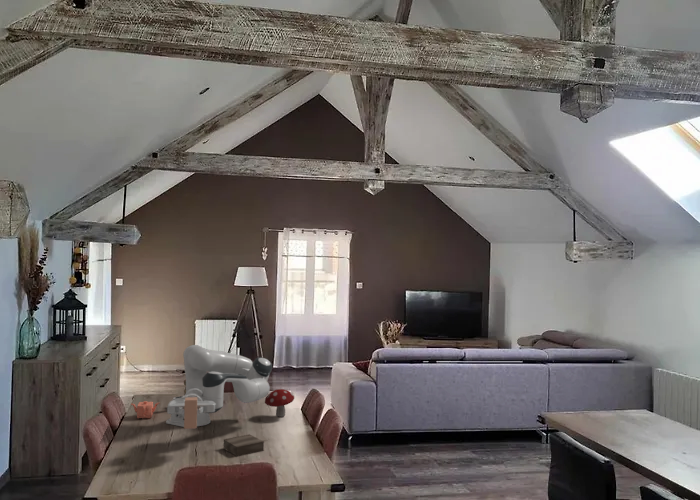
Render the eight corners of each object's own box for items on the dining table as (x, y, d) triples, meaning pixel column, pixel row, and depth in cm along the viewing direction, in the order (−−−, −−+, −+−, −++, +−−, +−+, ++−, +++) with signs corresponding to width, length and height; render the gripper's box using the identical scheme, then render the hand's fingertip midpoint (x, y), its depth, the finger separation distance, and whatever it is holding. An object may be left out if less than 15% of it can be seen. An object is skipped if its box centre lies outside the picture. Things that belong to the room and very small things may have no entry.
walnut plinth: (223, 448, 268) (223, 439, 268) (249, 443, 276) (249, 434, 276) (236, 456, 257) (237, 447, 257) (263, 450, 265) (263, 441, 265)
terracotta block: (184, 425, 258) (185, 397, 258) (196, 424, 259) (197, 397, 259) (184, 428, 253) (184, 400, 253) (196, 428, 254) (196, 400, 254)
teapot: (158, 419, 312) (159, 403, 312) (128, 421, 309) (128, 404, 309) (160, 413, 324) (161, 398, 324) (131, 414, 320) (131, 399, 320)
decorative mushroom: (296, 420, 315) (297, 391, 315) (266, 422, 310) (267, 393, 310) (291, 412, 330) (291, 384, 330) (262, 414, 325) (262, 386, 326)
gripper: (216, 410, 271) (215, 418, 257) (169, 411, 267) (166, 420, 253) (216, 396, 271) (215, 403, 257) (169, 397, 267) (166, 405, 253)
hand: (190, 412), depth 255 cm, fingers closed on terracotta block, 5 cm apart
